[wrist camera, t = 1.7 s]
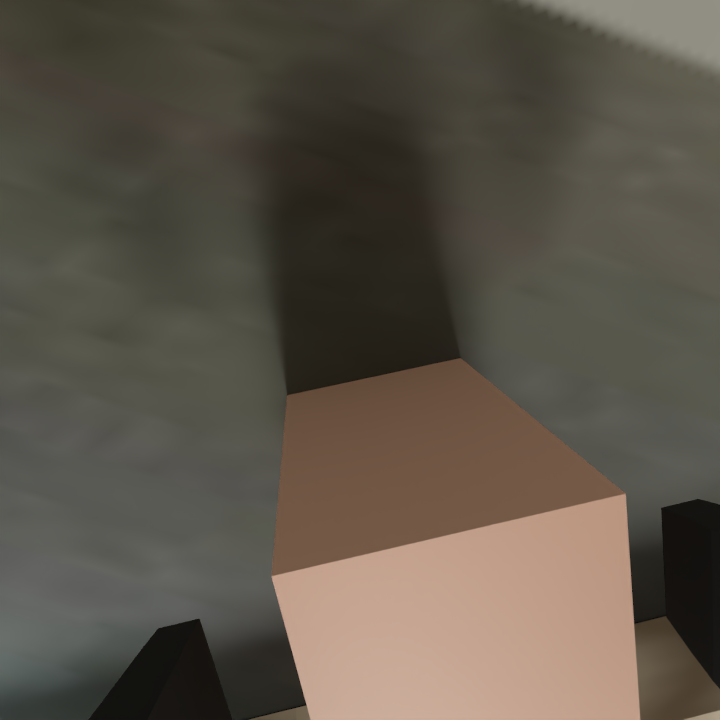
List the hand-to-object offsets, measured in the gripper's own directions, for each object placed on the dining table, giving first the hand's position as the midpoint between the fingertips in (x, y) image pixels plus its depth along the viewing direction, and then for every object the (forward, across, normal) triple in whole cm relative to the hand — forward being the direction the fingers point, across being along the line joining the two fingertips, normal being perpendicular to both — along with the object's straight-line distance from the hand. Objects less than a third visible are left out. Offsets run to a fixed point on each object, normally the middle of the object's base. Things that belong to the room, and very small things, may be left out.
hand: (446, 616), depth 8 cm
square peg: (+6, 0, 0) cm, 6 cm away
